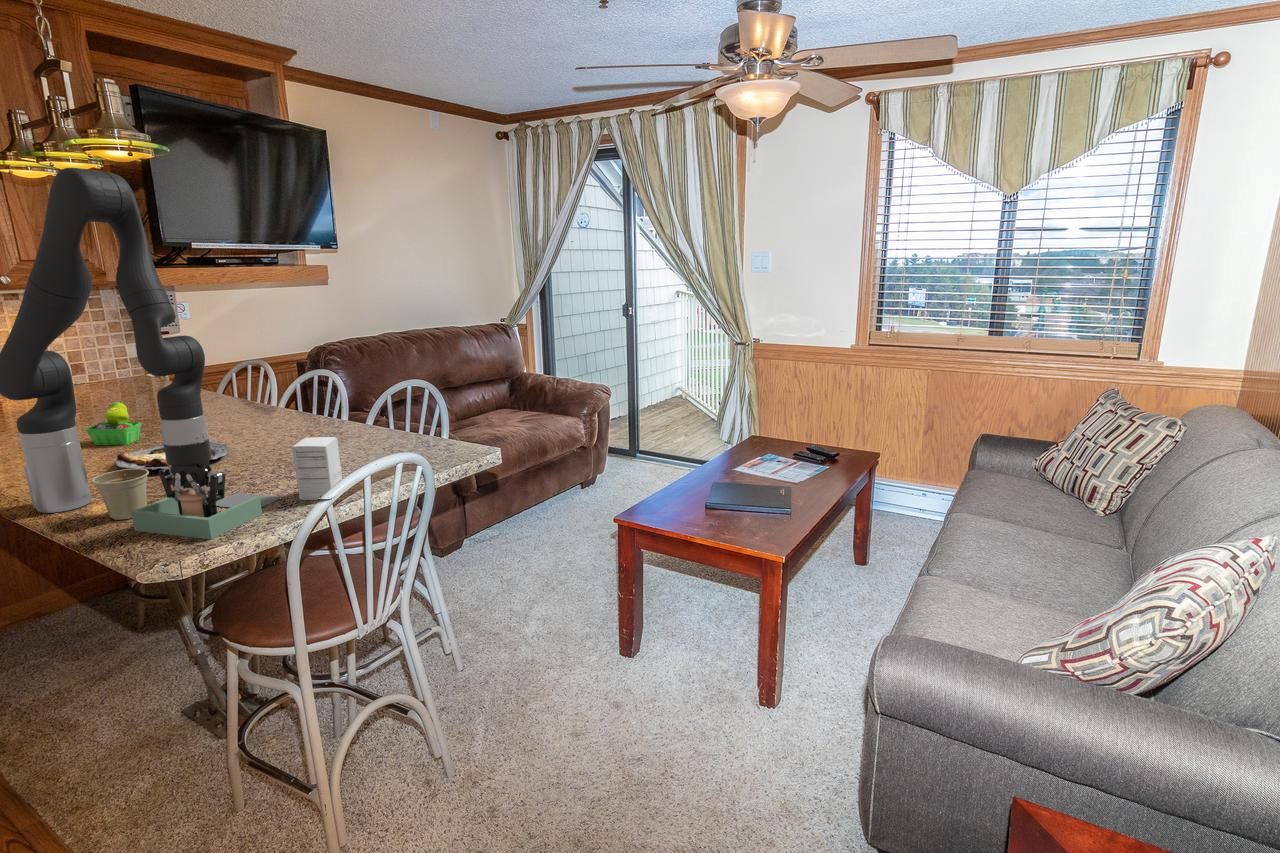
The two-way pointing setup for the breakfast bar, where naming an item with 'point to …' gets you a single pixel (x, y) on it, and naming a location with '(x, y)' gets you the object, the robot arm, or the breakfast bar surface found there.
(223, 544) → the breakfast bar surface
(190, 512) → the tan round knob
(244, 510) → the green u-shaped frame
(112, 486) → the flower pot
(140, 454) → the food plate
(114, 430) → the fruit basket
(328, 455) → the supplement box
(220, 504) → the slate mat
